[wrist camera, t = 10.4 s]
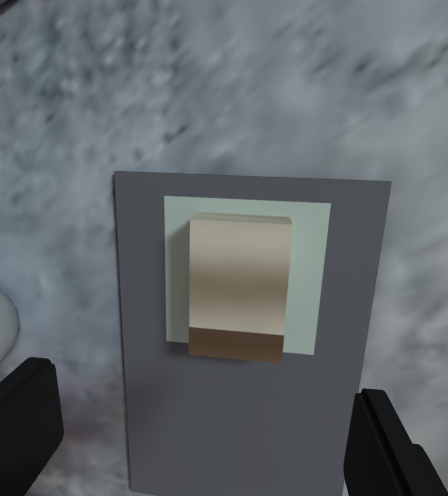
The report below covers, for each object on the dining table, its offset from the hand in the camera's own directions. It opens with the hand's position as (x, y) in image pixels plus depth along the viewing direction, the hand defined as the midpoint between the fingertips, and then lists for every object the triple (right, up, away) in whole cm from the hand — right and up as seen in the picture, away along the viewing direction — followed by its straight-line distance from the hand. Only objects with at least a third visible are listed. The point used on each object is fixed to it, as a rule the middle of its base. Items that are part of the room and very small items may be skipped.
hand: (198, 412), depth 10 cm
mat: (+2, -4, +15) cm, 16 cm away
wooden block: (+2, +3, +13) cm, 13 cm away
